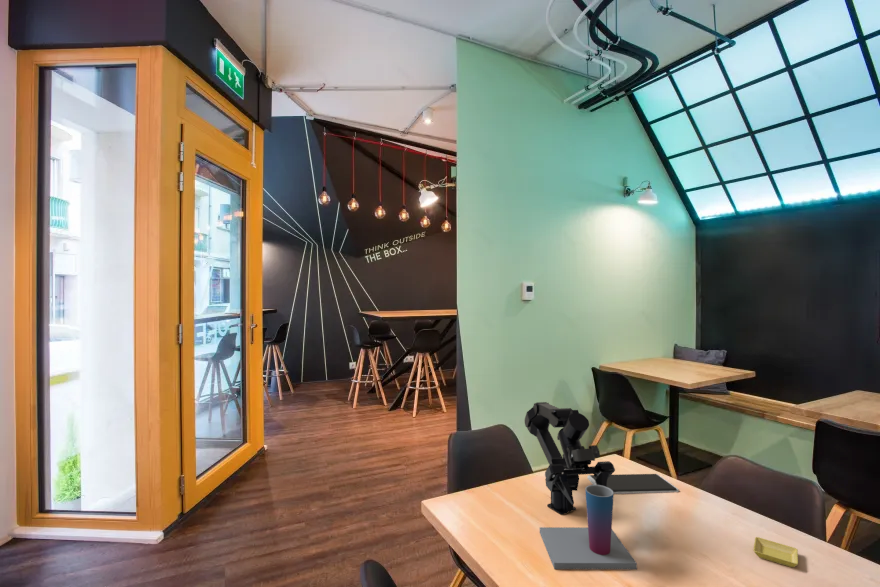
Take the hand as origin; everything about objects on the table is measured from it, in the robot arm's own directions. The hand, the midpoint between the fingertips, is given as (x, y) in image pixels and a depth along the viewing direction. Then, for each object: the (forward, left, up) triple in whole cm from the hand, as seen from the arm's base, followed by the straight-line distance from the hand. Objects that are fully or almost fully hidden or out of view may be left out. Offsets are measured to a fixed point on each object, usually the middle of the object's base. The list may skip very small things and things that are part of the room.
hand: (589, 503), depth 112 cm
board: (+1, -3, -11) cm, 11 cm away
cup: (+5, -2, -9) cm, 11 cm away
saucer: (+27, +36, -11) cm, 47 cm away
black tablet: (-18, +42, -12) cm, 47 cm away
